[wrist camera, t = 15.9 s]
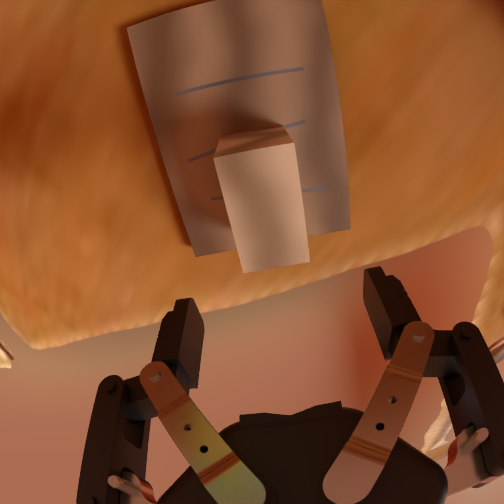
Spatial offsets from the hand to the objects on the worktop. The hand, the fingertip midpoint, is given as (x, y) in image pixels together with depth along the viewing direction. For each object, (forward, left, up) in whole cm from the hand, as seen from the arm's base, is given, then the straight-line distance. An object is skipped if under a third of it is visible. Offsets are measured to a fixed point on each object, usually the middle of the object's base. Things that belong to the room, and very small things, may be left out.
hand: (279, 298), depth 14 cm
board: (0, -5, -15) cm, 16 cm away
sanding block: (0, 0, -14) cm, 14 cm away
